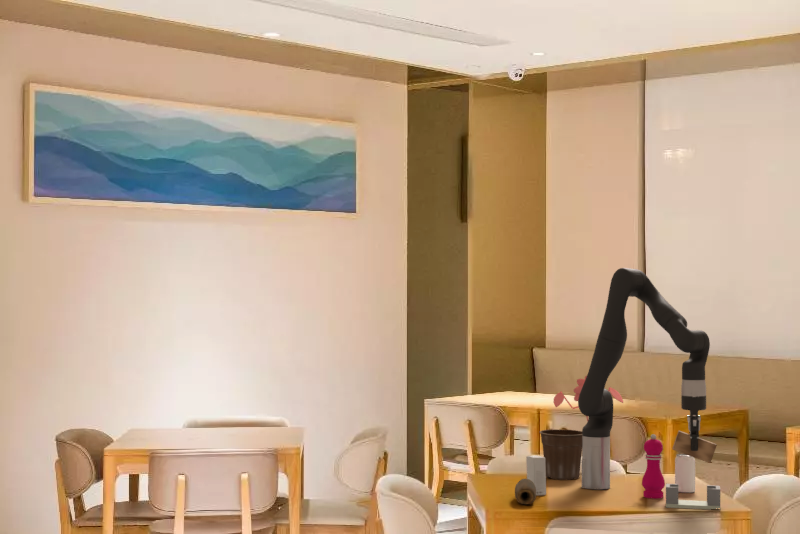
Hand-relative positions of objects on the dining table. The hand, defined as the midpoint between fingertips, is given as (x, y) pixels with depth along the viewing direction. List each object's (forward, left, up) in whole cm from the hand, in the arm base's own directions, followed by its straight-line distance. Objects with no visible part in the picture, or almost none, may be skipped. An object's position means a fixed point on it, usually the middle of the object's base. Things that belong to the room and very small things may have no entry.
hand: (694, 449), depth 364 cm
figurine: (-37, +64, -17) cm, 76 cm away
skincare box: (-50, +4, -17) cm, 52 cm away
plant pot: (-45, +42, -17) cm, 64 cm away
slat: (-1, 0, -2) cm, 2 cm away
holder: (-1, -6, -17) cm, 17 cm away
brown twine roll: (-51, -12, -17) cm, 55 cm away
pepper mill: (-13, +8, -17) cm, 22 cm away
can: (-3, +22, -17) cm, 28 cm away
